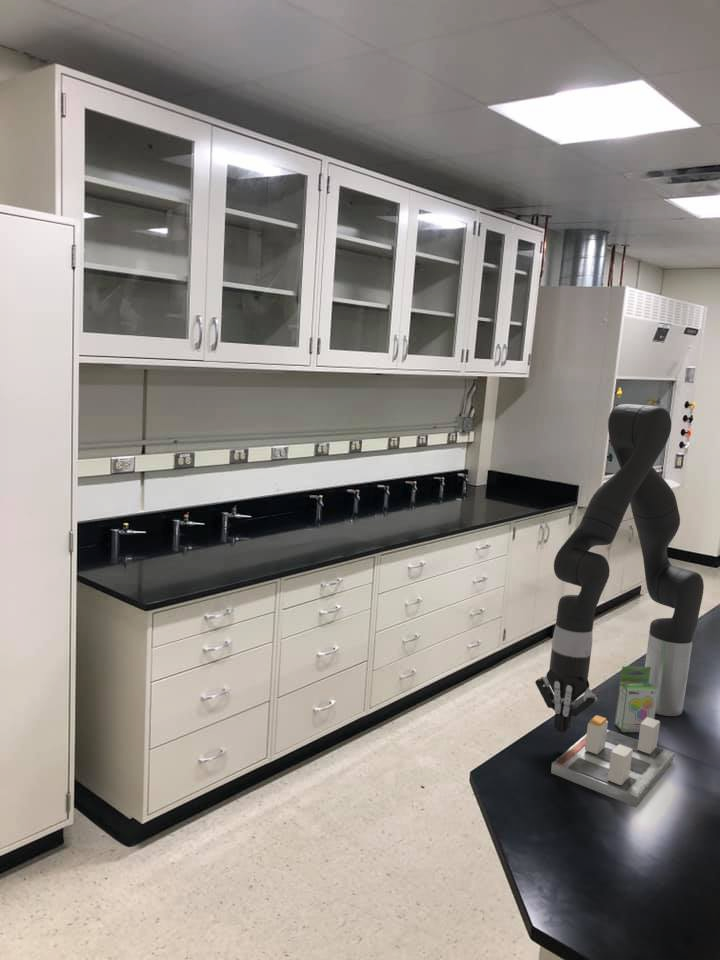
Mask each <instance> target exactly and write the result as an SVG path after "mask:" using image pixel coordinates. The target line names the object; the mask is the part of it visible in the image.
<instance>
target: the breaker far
mask: <svg viewBox="0 0 720 960" xmlns="http://www.w3.org/2000/svg"><path fill="white" fill-rule="evenodd" d="M660 724H661V721H660V720H658V719H655V718H654V719H652V718H649V717H647V718H646V719H645V720H644V721H643V722H642V723H641V725H640V732H638V734H639V735H638V739H637V740H638V748H637V750H640V751H642V752H645V753H648V754H651V753H652V752H653V751H654V749H655V748H656V747H658V740H659V732H660Z"/></svg>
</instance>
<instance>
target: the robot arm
mask: <svg viewBox="0 0 720 960" xmlns="http://www.w3.org/2000/svg"><path fill="white" fill-rule="evenodd" d="M607 430H608V431H607V432H608V437H609V441H610V445H611V447H612V450H613V452H614V454H615V457H616V460H617V463H618V465H619V467H620V469H619V470H617V472H615V474H613V475H612V476H611V477H610V478H609V479H607V480H606V481H605V482H604V483H603V484H602V485H601V486H600V487H599V488H598V489H597V490H596V491H595V492H594V494H593V495H592V496H591V499H590V500H589V502H588V505H587V507H586V509H585V512H584V513H583V516H582V519H581V521H580V522H579V524H578V526H577V527H576V529H574V531H572V533H571V535H570V536H569V537H568V539H566V541H565V542H564V544H562V546H561V547H560V548H559V550H558V551H557V553H556V555H555V558H554V561H553V571H554V575H555V576H556V578H558V580H559V581H562V582H565V583H567V584H571V585H573V586H578V587H580V592H579V593H578V594H566V595H562V596H561V597H560V598H559V600H558V603H557V612H556V622H555V627H554V631H553V635H552V638H551V639H552V640H551V652H550V659H549V670H548V671H547V672H546V675H545V676H541V677H539V678H537V680H535V685H536V687H537V690H539V691H538V692H539V693H540V696H541V697H542V699H543V701H544V703H545V704H546V707H547V708H549V709H552V710H553V711H554V713H555V714H554V715H555V716H554V722H553V727H554V728H555V731H556V732H557V733H560V734H565V733H566V732H568V731H569V730H570V729H571V724H572V718H573V717H574V718H576V717H577V716H579V715H580V714H581V713H583V712H584V711H585V710H586V709H588V708H589V707H591V706H592V705H593V704H594V703H595V702H596V701H598V700H599V699H600V697H599V694H598V693H593V692H592V690H591V689H590V683H589V679H588V678H589V672H590V665H591V656H592V650H593V649H592V647H593V629H594V621H595V620H594V619H595V615H596V609H597V606H598V603H599V601H600V599H601V596H602V594H603V592H604V590H605V587H606V584H607V583H608V581H609V577H610V569H611V568H610V566H609V564H610V563H609V562H608V560H607V558H606V557H605V556H604V555H603V554H599V553H597V552H592V551H589V550H591V549H592V548H593V547H596V546H608V545H610V544H612V543H613V542H614V539H615V538H616V535H617V532H618V531H619V529H620V526H621V524H622V521H623V519H624V516H625V514H626V512H627V510H628V508H629V506H630V509H631V512H632V517H633V521H634V524H635V527H636V531H637V535H638V536H637V537H638V539H639V544H640V549H641V554H642V558H643V567H644V576H645V577H644V578H645V583H646V589H647V593H648V596H649V597H650V599H651V600H653V602H655V603H657V604H660V605H662V606H666V607H669V608H671V609H674V610H673V615H672V617H663V618H662V617H661V618H656V619H653V620H652V621H651V622H650V625H649V634H648V640H647V648H646V655H645V656H646V657H645V663H644V667H651V670H650V676H649V683H650V684H652V685H653V686H654V687H655V688H656V689H657V690H658V693H657V701H656V709H655V715H656V714H657V715H661V716H665V717H677V716H680V715H682V714H683V711H684V710H683V709H684V703H685V696H686V689H687V683H688V677H689V676H688V675H689V669H690V662H691V653H692V647H693V641H694V640H693V639H694V634H695V631H696V629H697V626H698V621H699V615H700V610H701V607H702V606H701V605H702V601H703V596H704V579H703V577H702V575H701V574H700V573H699V572H696V571H693V570H690V569H687V568H686V569H685V568H682V567H680V566H676V565H672V564H671V562H670V560H669V556H668V547H669V545H670V543H671V542H672V541H673V539H674V538H675V536H676V534H677V532H678V530H679V528H680V524H681V516H680V512H679V506H678V502H677V501H678V500H677V498H676V495H675V492H674V490H673V489H672V488H671V486H670V485H669V483H668V482H667V481H666V480H665V478H663V476H662V475H660V473H659V472H658V470H656V469H655V468H654V467H653V466H654V464H655V463H656V462H657V459H658V458H659V457H660V455H661V454H662V452H663V450H664V448H665V446H666V444H667V442H668V440H669V438H670V435H671V431H672V418H671V415H670V413H669V412H668V410H666V408H665V407H662V406H656V405H647V404H645V405H644V404H634V403H632V404H631V403H623V404H619V405H616V406H615V407H613V408H612V409H611V412H610V414H609V417H608V421H607ZM583 694H584V695H583ZM582 695H583V697H582V699H583V702H582V703H581V704H579V705H578V706H577V707H575V703H576V702H577V699H579V697H581V696H582Z"/></svg>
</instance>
